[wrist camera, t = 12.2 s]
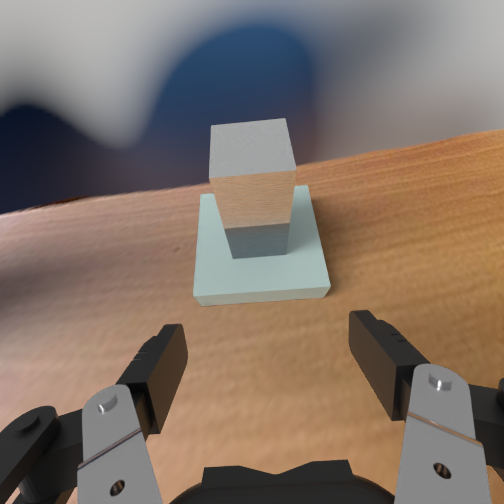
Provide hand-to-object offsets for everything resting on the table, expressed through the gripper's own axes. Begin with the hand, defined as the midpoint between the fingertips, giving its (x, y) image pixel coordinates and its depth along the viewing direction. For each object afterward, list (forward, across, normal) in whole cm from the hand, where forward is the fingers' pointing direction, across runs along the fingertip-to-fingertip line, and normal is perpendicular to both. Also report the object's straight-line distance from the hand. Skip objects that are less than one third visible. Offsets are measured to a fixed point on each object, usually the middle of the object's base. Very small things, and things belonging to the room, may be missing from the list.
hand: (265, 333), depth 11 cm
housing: (+13, 0, -2) cm, 13 cm away
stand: (+15, 0, 0) cm, 15 cm away
